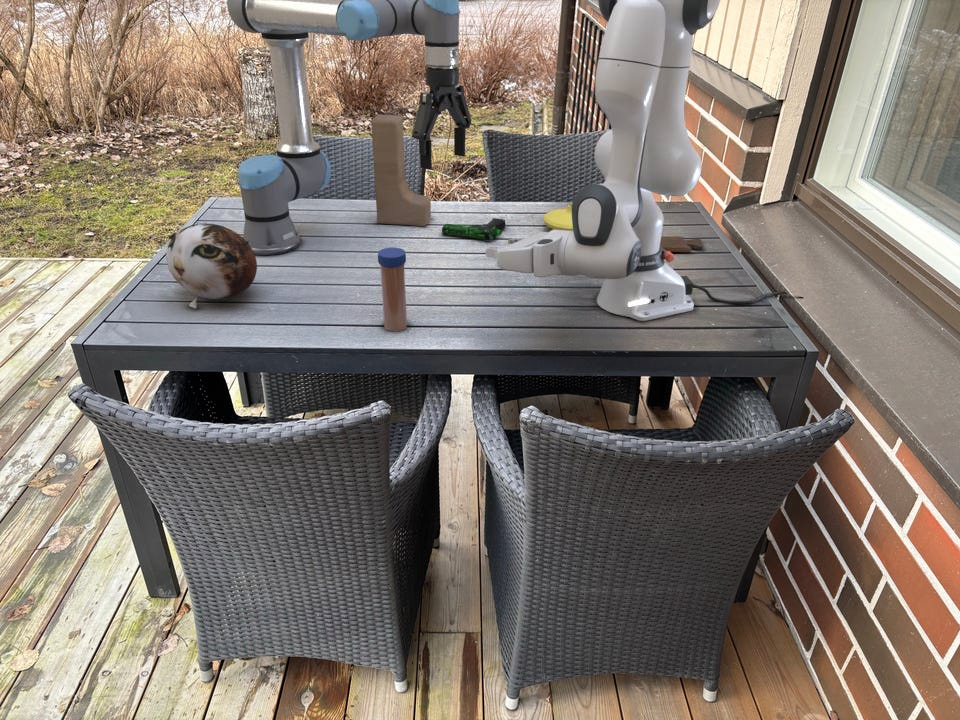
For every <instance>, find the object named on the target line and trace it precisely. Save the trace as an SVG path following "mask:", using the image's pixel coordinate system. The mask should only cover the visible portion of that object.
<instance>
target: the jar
mask: <svg viewBox="0 0 960 720" xmlns="http://www.w3.org/2000/svg"><path fill="white" fill-rule="evenodd" d="M379 268H380V282H381V283H380V284H381V298H382V314H383V316H382V317H383V327H384V329H385V330H386V331H389V332H401V331H404V330H405V329H407V327H408V319H407V318H408V317H407V315H408V314H407V296H406V295H407V294H406V274H405V273H406V272H405V264H404V265H402V266H398V267H384V266H381V265H380V264H379Z"/></svg>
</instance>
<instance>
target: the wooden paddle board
mask: <svg viewBox="0 0 960 720" xmlns="http://www.w3.org/2000/svg"><path fill="white" fill-rule="evenodd" d="M660 247H662V248H664V249H665V250H666V251H669V252H677V253H689V252H691V251H692V249H694V250H701V251H702V250H703V248H704V246H703V242H702V239H701V238H692V239H685V240H684V236H683V235H682V236H680V235H679V236H678V235H676V236H675V235H673V236H667V235H665V236H663V235H661V241H660ZM666 251H665V252H666Z"/></svg>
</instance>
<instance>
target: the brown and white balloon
mask: <svg viewBox="0 0 960 720" xmlns="http://www.w3.org/2000/svg"><path fill="white" fill-rule="evenodd" d="M176 233H177V234H176V235H174V237H173V238H172V239H170V241H169V243H168V245H167V248H166V254H165V260H166V265H167V268H168V271H169V273H170V275H171V276H172V277H173V279H174V280H175V281H176V282H177V284H178V285H180V286H181V287H182V288H183V289H185V290H186V291H187V292H189V293H191V294H194V295H195V298H194V299H193V300H192V302H190V303H189V304H188V306H189V307H191V308H192V309H197V308H198V307H197V298H198V297H201V298H205V299H210V300H226V299H230V298H233V297H236V296H238V295H241V294H242V293H244V292H245V291H247V290H248V289H249V288H250V286H251V285H252V284H253V282H254V280H255V278H256V275H257V271H258V262H257V257H256V254H254V252H253V250H252V248H251V247H250V245H249V244H248V242H249V241H246V240H245V239H244V238H243V236H242V235H240V234H239V233H238V232H236V231H234V230H233V229H231V228H229V227H226V226H223V225H220V224H215V223H205V222H204V223H195V224H191V225H188V226H186V227H183V228H182V229H180V230H179V231H177V232H176Z"/></svg>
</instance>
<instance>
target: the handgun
mask: <svg viewBox="0 0 960 720" xmlns="http://www.w3.org/2000/svg"><path fill="white" fill-rule="evenodd" d="M505 228H506V220H505V219H503V218H497V217H492V219H491V220H490V221H489V222H488V223H483V224H482V225H479V224H472V225H459V224H453V223H445V224H443V226H442V227H441V235H446V236H454V237H462V238H469V239H470V238H471V239H474V240H479V241H484V242H491V241H492V240H494V239H495V238H497V237H500V236H502V230H504V229H505Z"/></svg>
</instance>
